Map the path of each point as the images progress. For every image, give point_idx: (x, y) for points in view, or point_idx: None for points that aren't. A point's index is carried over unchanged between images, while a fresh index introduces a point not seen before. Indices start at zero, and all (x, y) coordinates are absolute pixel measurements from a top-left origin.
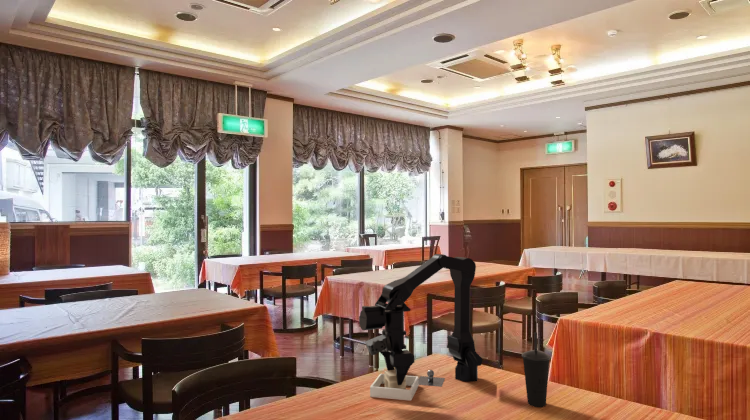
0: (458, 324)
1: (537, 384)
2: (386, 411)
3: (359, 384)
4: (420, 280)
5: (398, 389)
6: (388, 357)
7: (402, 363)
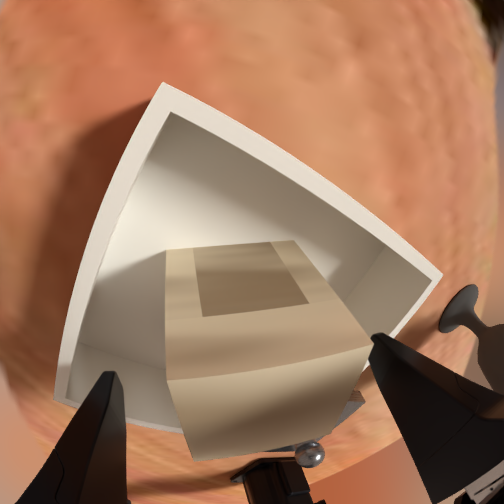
0: None
1: None
2: None
3: (454, 132)
4: None
5: (61, 347)
6: (460, 436)
7: None
